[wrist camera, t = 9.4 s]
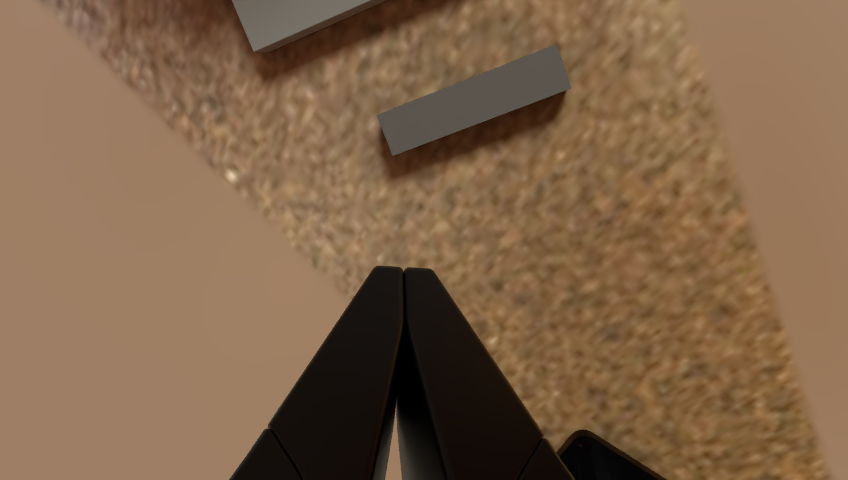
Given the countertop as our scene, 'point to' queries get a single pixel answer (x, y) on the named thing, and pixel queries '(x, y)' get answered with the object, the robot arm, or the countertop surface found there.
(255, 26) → the grey twin-post base
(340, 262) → the countertop surface
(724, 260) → the countertop surface
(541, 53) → the long grey bar
